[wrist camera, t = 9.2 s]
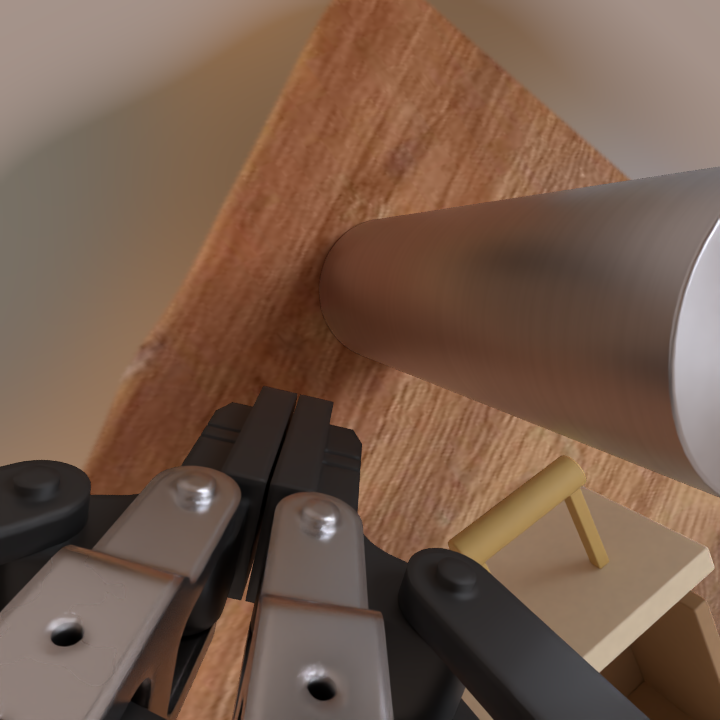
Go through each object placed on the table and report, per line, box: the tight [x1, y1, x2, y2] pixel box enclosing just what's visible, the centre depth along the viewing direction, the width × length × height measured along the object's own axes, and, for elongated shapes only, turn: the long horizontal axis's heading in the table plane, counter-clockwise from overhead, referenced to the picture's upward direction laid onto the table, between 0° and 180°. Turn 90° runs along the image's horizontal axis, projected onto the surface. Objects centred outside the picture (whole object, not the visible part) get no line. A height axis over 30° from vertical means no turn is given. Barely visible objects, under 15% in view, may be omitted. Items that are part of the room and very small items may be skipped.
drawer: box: [448, 455, 720, 720], centre depth 27 cm, size 19×11×7 cm, turn 28°
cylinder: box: [319, 167, 720, 497], centre depth 18 cm, size 6×6×17 cm
